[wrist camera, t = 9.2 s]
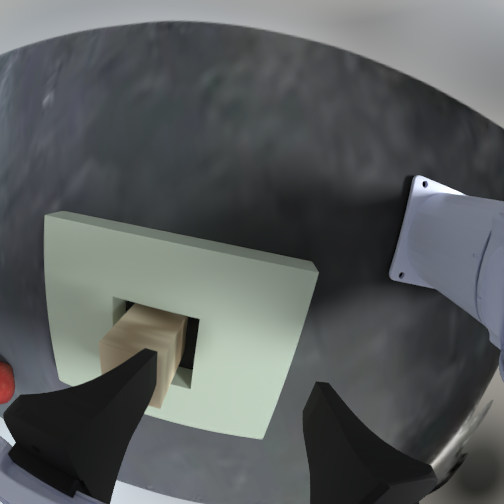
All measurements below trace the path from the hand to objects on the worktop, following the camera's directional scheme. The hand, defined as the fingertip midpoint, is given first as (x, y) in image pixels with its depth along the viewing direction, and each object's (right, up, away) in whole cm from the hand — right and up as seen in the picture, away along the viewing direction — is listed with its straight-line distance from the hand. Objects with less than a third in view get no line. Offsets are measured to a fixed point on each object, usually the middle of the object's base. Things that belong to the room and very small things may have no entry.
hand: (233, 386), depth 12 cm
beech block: (-6, 0, +10) cm, 12 cm away
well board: (-6, 0, +10) cm, 12 cm away
